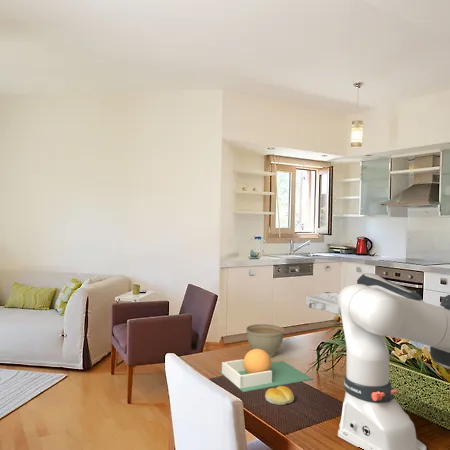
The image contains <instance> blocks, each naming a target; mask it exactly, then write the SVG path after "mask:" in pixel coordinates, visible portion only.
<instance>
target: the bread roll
mask: <svg viewBox="0 0 450 450" xmlns="http://www.w3.org/2000/svg"><path fill="white" fill-rule="evenodd" d="M264 397H265V401H267V402H268V403H269V404H271V405H278V406H284V405H287V404H292V403H293V402H294V401H295V396H294V393H293V391H292V390H291V389H290V387H287V386H286V385H280V386H276V387H269V388H267V390H266V391H265V394H264Z"/></svg>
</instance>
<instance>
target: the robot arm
mask: <svg viewBox="0 0 450 450" xmlns="http://www.w3.org/2000/svg"><path fill="white" fill-rule="evenodd" d="M356 283H357V284H356ZM356 283H355V284H349V285H346V286H344V287H343V288H342V289H341V290H340V291H335V292H329V291H328V292H327V291H323V292H322V293H316V294H310V295H306V296H305V304H306V306H307V307H308V308H310V309H314V310H315V309H317V310H321V311H324V312H327V313H331V314H334V315H338V316H339V315H341V319H342V320H341V321H342V328H343V334H344V340H345V348H346V349H345V350H346V358H345V360H346V362H345V363H346V365H345V368H346V369H345V372H346V373H345V375H344V379H343V387H344V391H345V393H344V399H343V403H342V410H341V418H340V422H339V424H338V426H339V429H338V430H337V436H338V437H339V438H340V439H342V440H344V441H346V442H347V443H349V444H351V445H353V446H355V447H357V448H358V447H360V448H362V449H364V450H427V445H425V444H424V443H423V442H421V441H420V440H419V439H418V438H417V432H416V427H415V424H414V422H413V421H412V419H411V418H410V416H409V414H408V413H406V412H405V410H404V409H403V408H402V407H401V406H400V404H399V402H397V400H396V398H395V395H397V394H398V392H397V391H398V389H393V387H392V383H391V381H390V351H389V348H388V346H387V344H386V340H385V337H388V338H395V339H402V340H403V339H404V340H406V341H407V340H408V341H412V342H414V343H419V344H423V345H426V346H429V347H430V349H429V354H430V357H431V359H432V360H433V361H434V362H435V363H437V364H438V365H439V366H441V367H442V368H445V369H448V370H450V294H447V295H446V296H444V297H443V299H442V300H441V302H440V304H439V305H435V304H430V303H427V302H425V301H424V300H423V299H422V296H421V295H420V294H419V293H418V292H415V291H414V290H411V289H409V288H407V287H405V286H402V285H399V284H397V283H395V282H392V281H390V280H388V279H386V278H384V277H383V276H381V275H378V274H376V273H370V272H369V273H368V272H367V273H363V274H362V275H360V277H358V278H357V280H356ZM360 448H359V449H360ZM362 449H361V450H362Z"/></svg>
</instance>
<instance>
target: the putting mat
mask: <svg viewBox="0 0 450 450" xmlns="http://www.w3.org/2000/svg"><path fill="white" fill-rule="evenodd" d="M270 370H271V371H272V383H268V384H262V385H257V386H251V387H245V388H239V387H238V386H236V385H235V384H234V383H233V382H232V381H231V380H229V379H228V378H227V377H226V376H225V375H224V374H222V369H220V370H218V371H219V373H220V374H221V375H222V376H224V377H225V378H226V379H227V380H228V381H230V383H232V384H233V385H234V386H236V387H237V388H238V389H239V390H240V391H241V392H243V393H247V392H252V391H257V390H258V391H259V390H262V389H270V388H276V387H278V386H286V385H290V384H296V383H301V382H306V381H307V382H308V381H313V379H314V378H313V377H310V376H309V375H307V374H306V373H304V372H302V371H301V370H299V369H297V368H295V367H294V366H292V365H290V364H288V363H287V362H285V361H283V360H282V361H281V360H280V361H274V362H271V368H270ZM238 373H239V374H240V375H246V374H247V372H246V371H239V372H238Z"/></svg>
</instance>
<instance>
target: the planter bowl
mask: <svg viewBox="0 0 450 450" xmlns="http://www.w3.org/2000/svg"><path fill="white" fill-rule="evenodd" d="M245 330H246V338H247V342H248V345H249V346H250V348H251V350H253V349H261V350H263V351H265V352H266V353H267V354H268V355H269V357H270V358H272V357H274V356H276V355H277V352H278V350H279V349H280V348H281V346H282V343H283V340H284V333H285V329H284V328H283V327H282V326H279V325H275V324H269V323H267V324H266V323H257V324H250V325H248V326H246V329H245Z"/></svg>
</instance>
